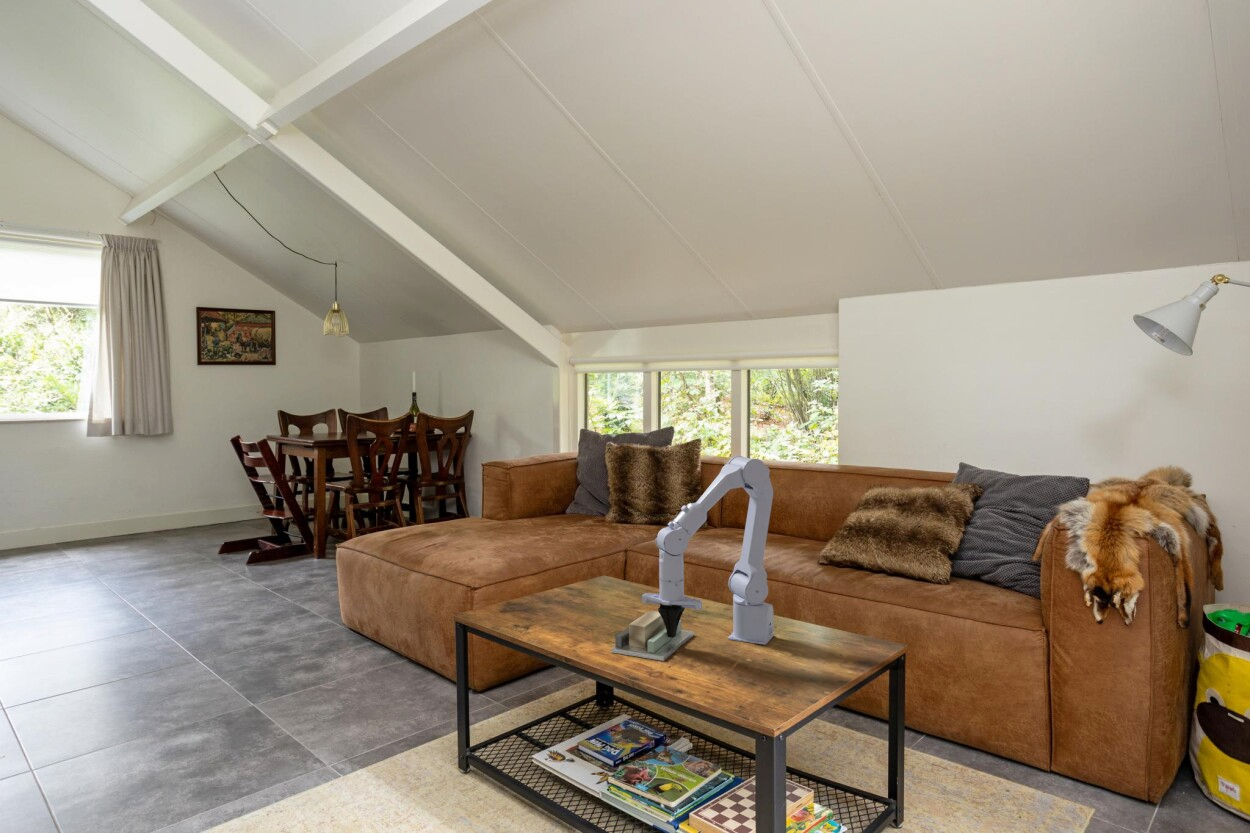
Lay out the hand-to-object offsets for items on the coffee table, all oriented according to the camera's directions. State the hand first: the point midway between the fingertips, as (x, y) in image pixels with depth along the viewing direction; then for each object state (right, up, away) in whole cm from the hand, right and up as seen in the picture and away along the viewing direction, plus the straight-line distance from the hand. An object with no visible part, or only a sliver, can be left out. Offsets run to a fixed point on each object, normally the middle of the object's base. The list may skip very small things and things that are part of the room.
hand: (671, 636), depth 176 cm
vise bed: (-4, -2, +2) cm, 5 cm away
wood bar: (-6, -1, +3) cm, 6 cm away
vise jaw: (-2, -1, +1) cm, 2 cm away
